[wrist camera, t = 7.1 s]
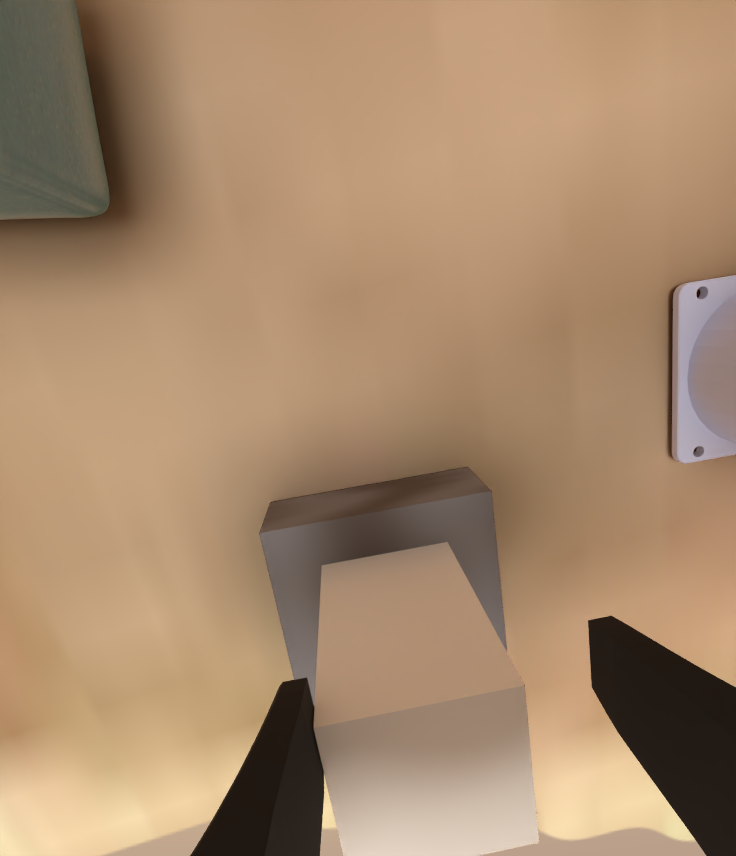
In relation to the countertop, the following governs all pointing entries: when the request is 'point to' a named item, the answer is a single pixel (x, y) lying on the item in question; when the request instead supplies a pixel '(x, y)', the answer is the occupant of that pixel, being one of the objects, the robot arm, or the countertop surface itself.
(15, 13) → the flower pot
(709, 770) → the robot arm
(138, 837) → the countertop surface
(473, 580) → the charcoal plinth
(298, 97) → the countertop surface
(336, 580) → the cream block
